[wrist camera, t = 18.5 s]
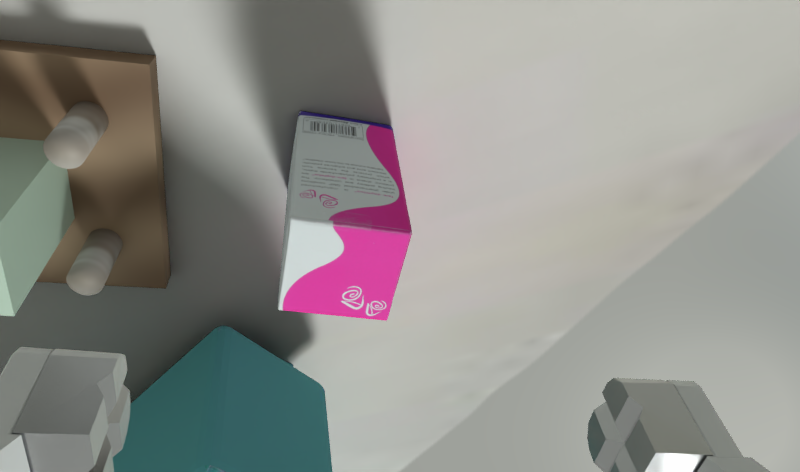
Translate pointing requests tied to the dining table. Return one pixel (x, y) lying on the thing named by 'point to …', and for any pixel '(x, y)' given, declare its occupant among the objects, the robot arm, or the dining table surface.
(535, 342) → the dining table surface
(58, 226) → the sage block
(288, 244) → the supplement box
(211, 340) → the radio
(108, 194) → the peg board
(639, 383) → the robot arm
